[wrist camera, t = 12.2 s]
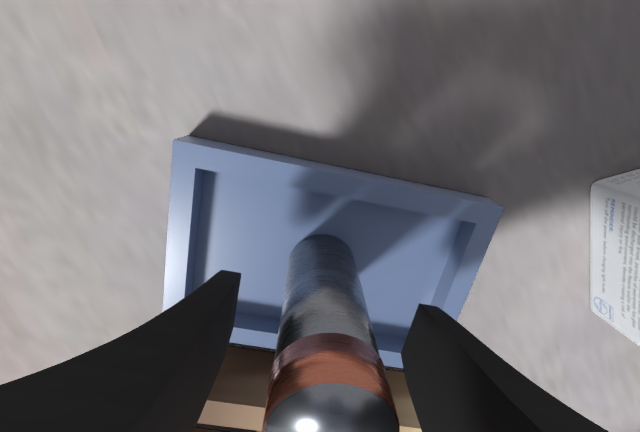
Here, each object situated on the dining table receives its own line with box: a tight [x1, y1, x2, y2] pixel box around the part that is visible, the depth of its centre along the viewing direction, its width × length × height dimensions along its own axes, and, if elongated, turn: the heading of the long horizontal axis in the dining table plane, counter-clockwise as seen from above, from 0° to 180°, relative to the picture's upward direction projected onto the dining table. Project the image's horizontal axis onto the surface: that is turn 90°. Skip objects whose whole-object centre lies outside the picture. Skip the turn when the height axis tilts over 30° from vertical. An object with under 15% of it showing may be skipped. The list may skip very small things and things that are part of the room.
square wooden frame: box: [194, 346, 275, 432], centre depth 15 cm, size 7×7×3 cm
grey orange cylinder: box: [262, 234, 400, 432], centre depth 10 cm, size 3×3×8 cm
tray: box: [163, 135, 504, 368], centre depth 14 cm, size 12×8×1 cm, turn 78°
